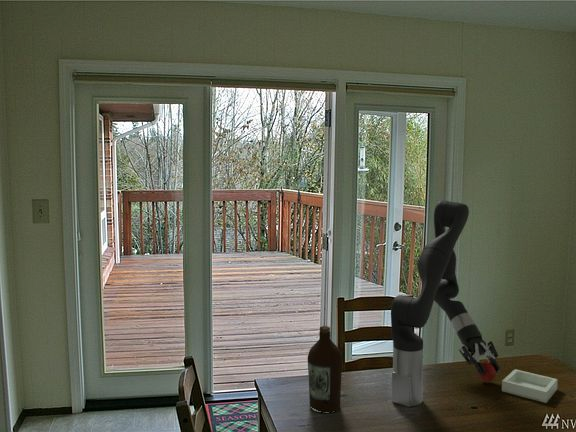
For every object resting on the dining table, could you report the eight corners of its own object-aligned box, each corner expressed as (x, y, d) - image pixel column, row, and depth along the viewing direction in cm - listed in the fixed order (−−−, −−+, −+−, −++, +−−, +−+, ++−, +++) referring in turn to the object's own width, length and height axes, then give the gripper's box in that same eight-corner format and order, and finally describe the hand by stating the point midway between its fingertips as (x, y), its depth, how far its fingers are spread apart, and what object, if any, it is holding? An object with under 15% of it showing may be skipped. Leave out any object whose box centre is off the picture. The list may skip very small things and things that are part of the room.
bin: (546, 403, 153) (546, 392, 153) (501, 391, 162) (501, 380, 162) (557, 389, 163) (557, 379, 163) (514, 378, 172) (514, 369, 172)
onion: (473, 381, 170) (474, 358, 170) (485, 378, 173) (486, 356, 172) (486, 387, 165) (487, 364, 165) (499, 384, 168) (499, 361, 167)
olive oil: (317, 396, 159) (316, 320, 157) (347, 403, 154) (347, 325, 152) (301, 409, 150) (301, 329, 148) (333, 418, 144) (333, 334, 143)
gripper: (455, 325, 172) (480, 371, 162) (486, 321, 177) (512, 364, 167) (444, 336, 177) (468, 380, 167) (475, 331, 183) (500, 374, 173)
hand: (490, 372), depth 167 cm, fingers closed on onion, 5 cm apart
